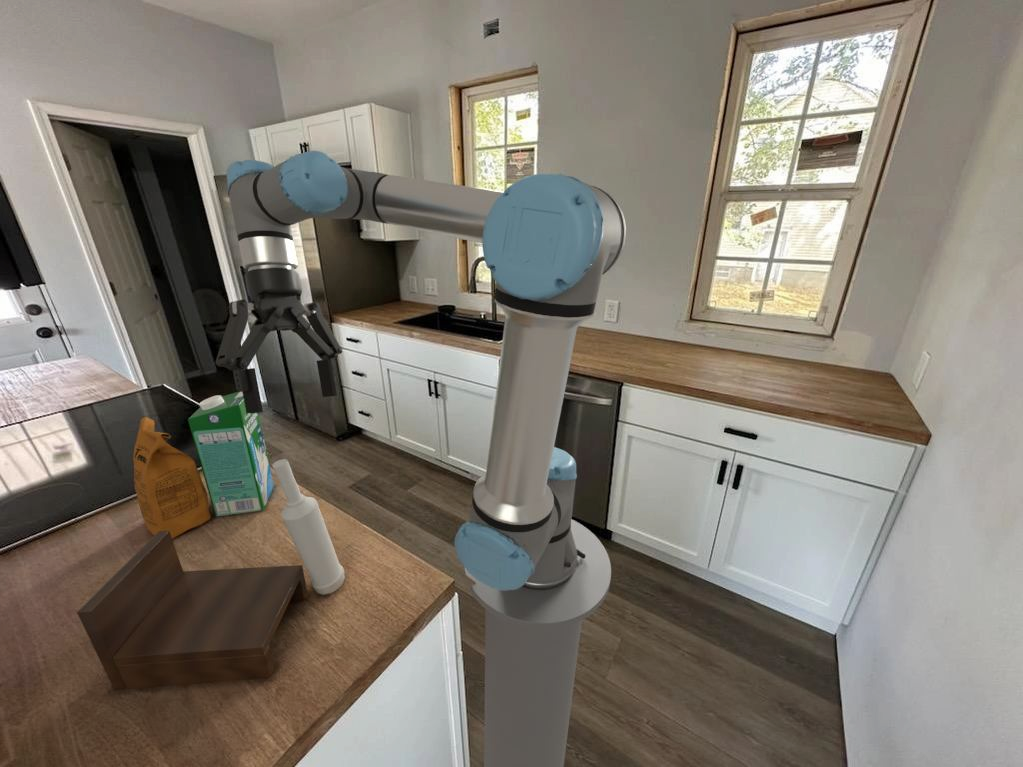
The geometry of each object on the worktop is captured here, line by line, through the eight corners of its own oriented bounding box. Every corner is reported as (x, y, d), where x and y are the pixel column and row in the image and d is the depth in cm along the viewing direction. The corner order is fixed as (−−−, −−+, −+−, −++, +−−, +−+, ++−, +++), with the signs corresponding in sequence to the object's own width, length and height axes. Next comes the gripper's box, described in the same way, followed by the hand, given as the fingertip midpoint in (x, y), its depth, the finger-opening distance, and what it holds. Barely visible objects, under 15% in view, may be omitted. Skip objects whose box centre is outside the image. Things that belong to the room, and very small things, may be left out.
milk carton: (230, 491, 94) (203, 390, 85) (274, 486, 96) (253, 387, 87) (215, 517, 85) (184, 408, 77) (263, 510, 88) (238, 404, 79)
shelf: (307, 592, 69) (294, 525, 64) (270, 678, 56) (250, 601, 51) (182, 599, 67) (158, 530, 62) (114, 690, 54) (76, 612, 49)
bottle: (352, 576, 71) (306, 457, 61) (327, 600, 67) (273, 477, 57) (333, 565, 74) (286, 450, 63) (308, 588, 70) (253, 469, 59)
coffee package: (199, 497, 91) (173, 407, 83) (218, 522, 84) (191, 426, 76) (141, 519, 84) (106, 423, 76) (157, 549, 77) (120, 446, 69)
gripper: (321, 280, 77) (339, 391, 79) (165, 267, 55) (197, 422, 57) (350, 273, 74) (369, 389, 76) (197, 256, 51) (230, 421, 54)
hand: (295, 404), depth 67 cm, fingers open, 13 cm apart
